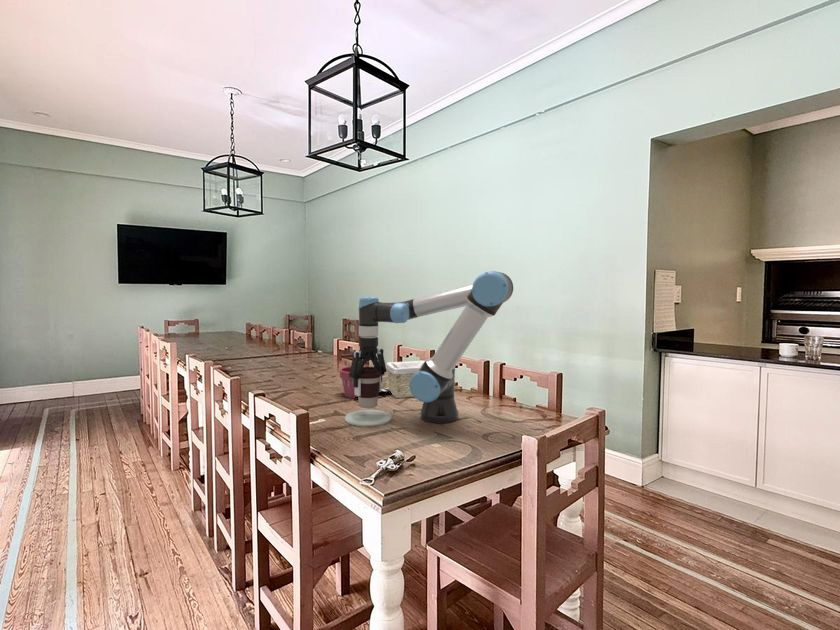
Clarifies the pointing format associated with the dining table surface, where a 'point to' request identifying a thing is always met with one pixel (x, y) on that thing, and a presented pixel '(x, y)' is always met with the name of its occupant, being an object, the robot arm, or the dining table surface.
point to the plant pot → (347, 382)
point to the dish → (368, 418)
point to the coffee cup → (369, 387)
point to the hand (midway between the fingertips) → (368, 393)
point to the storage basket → (402, 377)
